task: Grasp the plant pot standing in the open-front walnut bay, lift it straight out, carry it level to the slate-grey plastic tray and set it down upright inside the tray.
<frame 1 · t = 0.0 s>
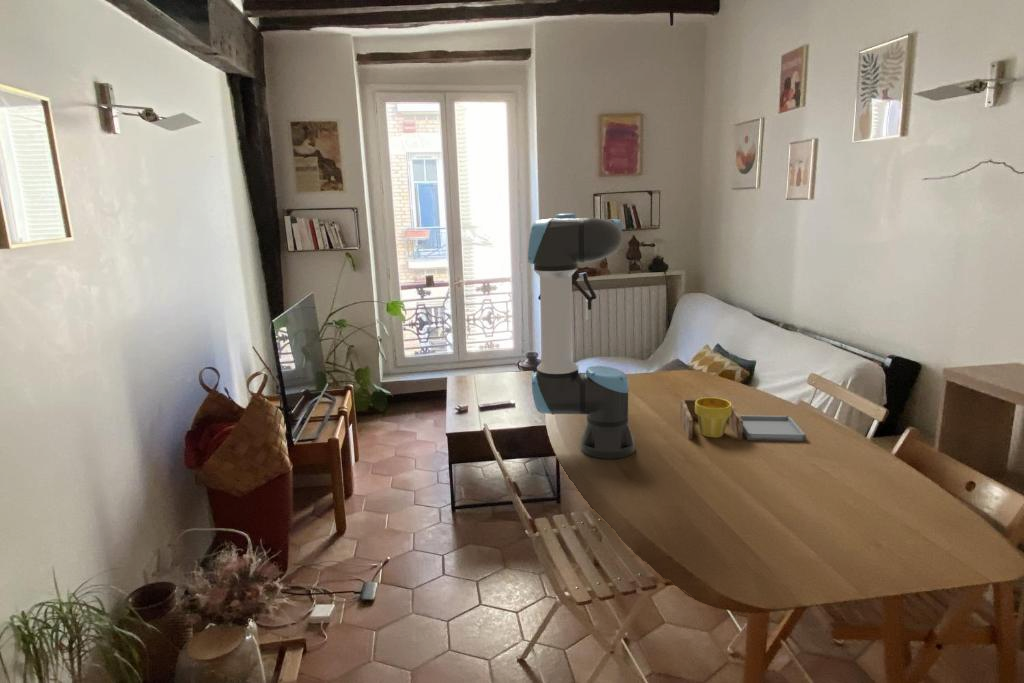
hand: (567, 319, 219), 28 cm above the table, fingers open, 13 cm apart
tray: (769, 430, 185), on the table
plant pot: (712, 434, 184), on the table
bay: (710, 429, 187), on the table
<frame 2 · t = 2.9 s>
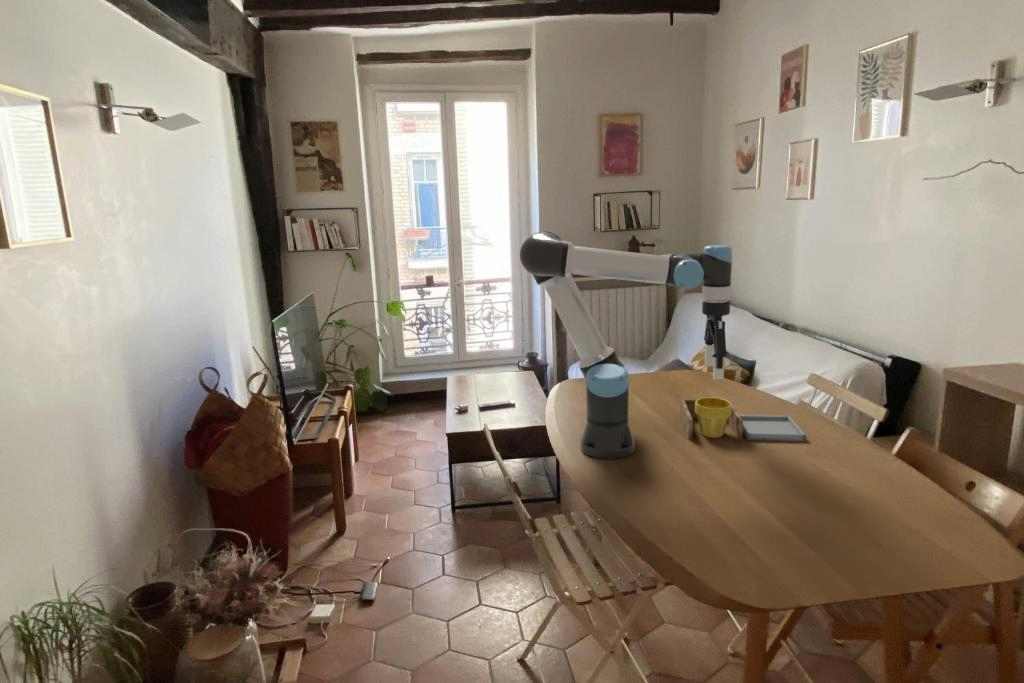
hand: (713, 372, 180), 19 cm above the table, fingers open, 13 cm apart
nothing on the table moved.
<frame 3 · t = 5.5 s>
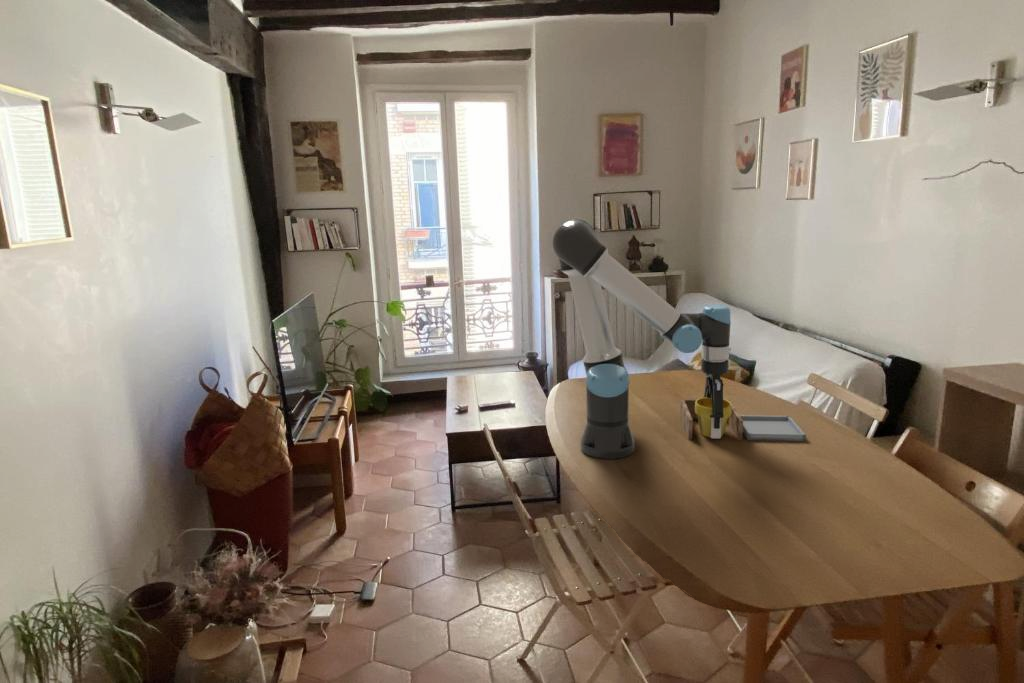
hand: (712, 431, 184), 1 cm above the table, fingers closed on plant pot, 10 cm apart
plant pot: (712, 434, 184), on the table, touching gripper
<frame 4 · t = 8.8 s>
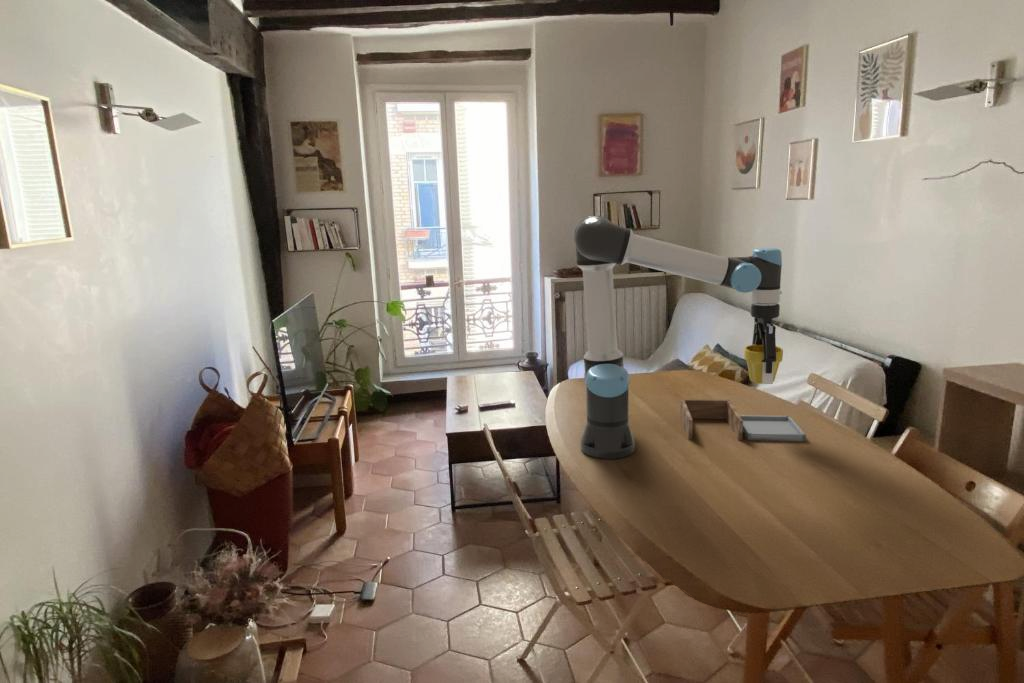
hand: (762, 378, 181), 17 cm above the table, fingers closed on plant pot, 10 cm apart
plant pot: (762, 381, 181), point 16 cm above the table, touching gripper
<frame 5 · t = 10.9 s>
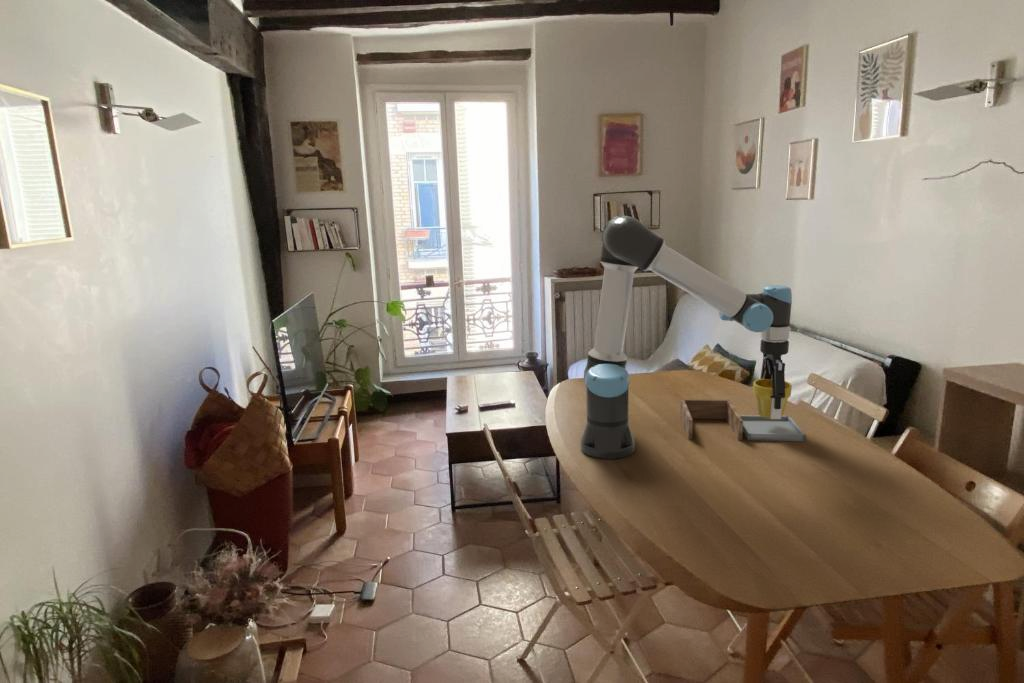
hand: (770, 412, 183), 6 cm above the table, fingers closed on plant pot, 10 cm apart
plant pot: (770, 415, 184), point 5 cm above the table, touching gripper
when the fingers open (3 cm above the table, at t = 12.5 s): plant pot drops 1 cm, resting on tray.
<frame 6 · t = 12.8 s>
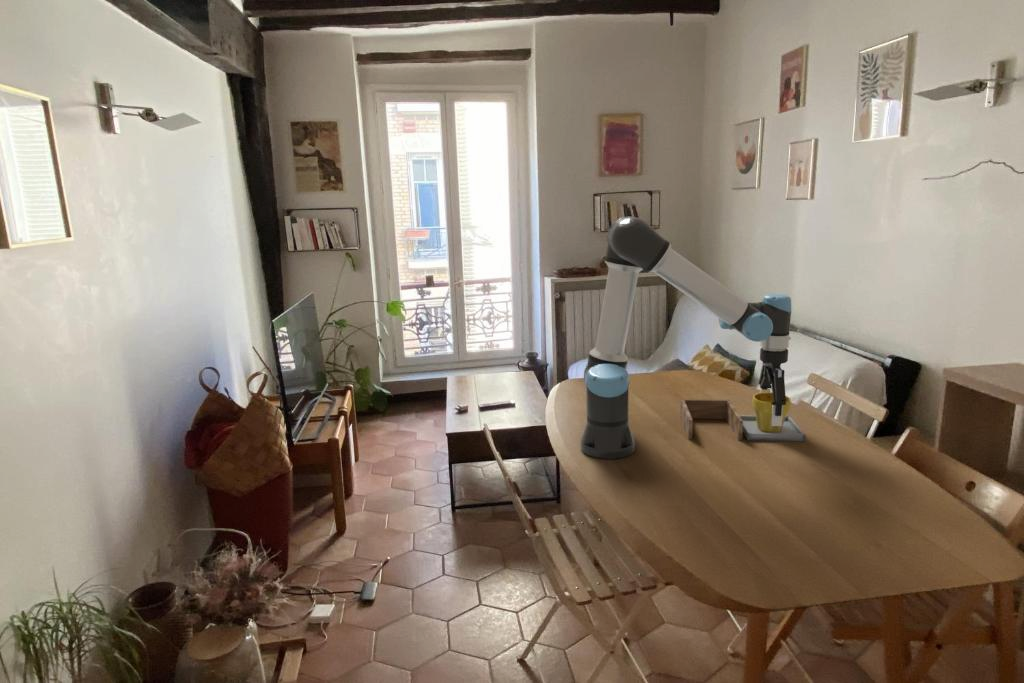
hand: (770, 417, 184), 4 cm above the table, fingers open, 13 cm apart
plant pot: (769, 429, 184), point 1 cm above the table, touching tray
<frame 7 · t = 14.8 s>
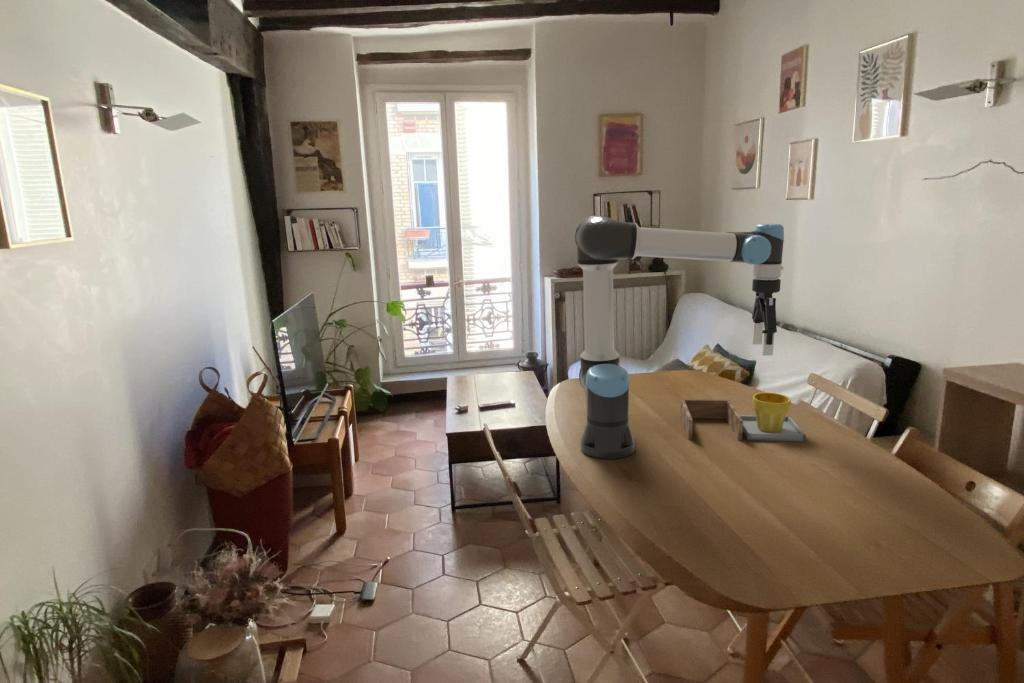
hand: (762, 349, 184), 24 cm above the table, fingers open, 13 cm apart
nothing on the table moved.
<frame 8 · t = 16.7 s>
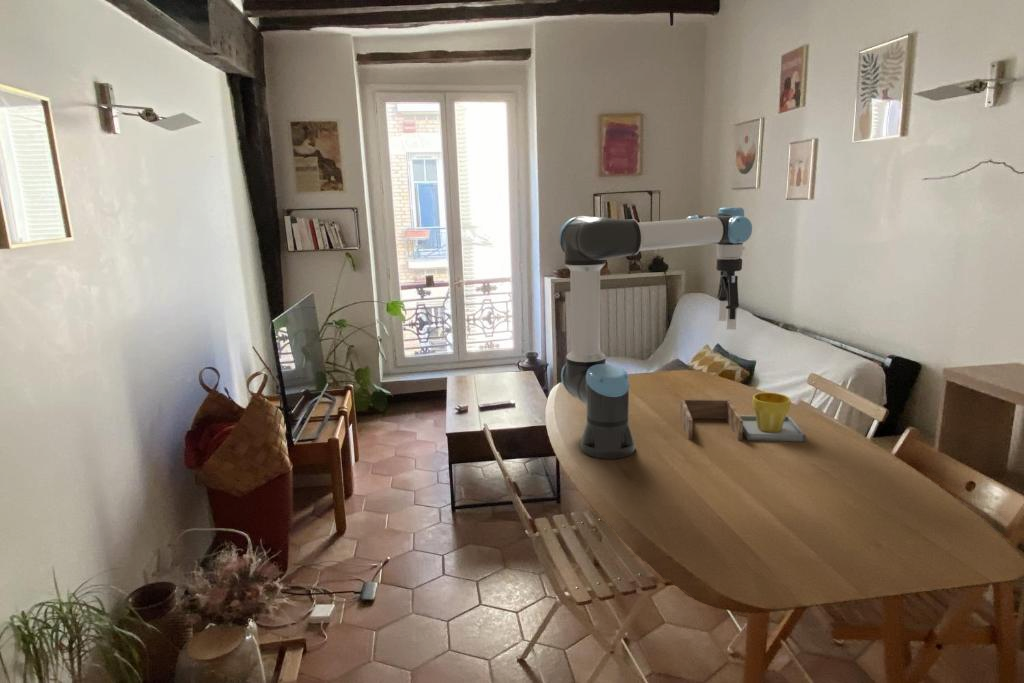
hand: (726, 324, 197), 29 cm above the table, fingers open, 13 cm apart
nothing on the table moved.
at the end: plant pot inside the target area on the tray (0.3 cm from its centre), point 0.6 cm above the tray's base; plant pot tilted 0°; the gripper is holding nothing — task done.
